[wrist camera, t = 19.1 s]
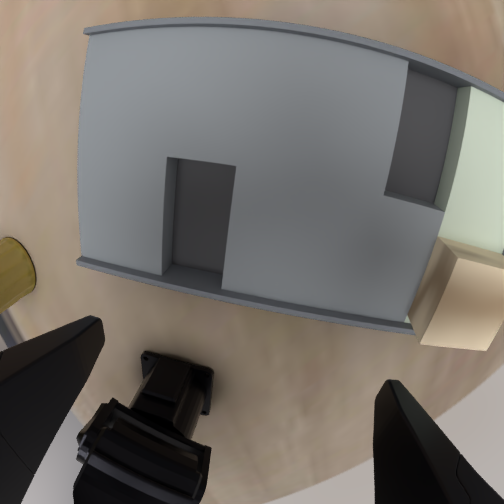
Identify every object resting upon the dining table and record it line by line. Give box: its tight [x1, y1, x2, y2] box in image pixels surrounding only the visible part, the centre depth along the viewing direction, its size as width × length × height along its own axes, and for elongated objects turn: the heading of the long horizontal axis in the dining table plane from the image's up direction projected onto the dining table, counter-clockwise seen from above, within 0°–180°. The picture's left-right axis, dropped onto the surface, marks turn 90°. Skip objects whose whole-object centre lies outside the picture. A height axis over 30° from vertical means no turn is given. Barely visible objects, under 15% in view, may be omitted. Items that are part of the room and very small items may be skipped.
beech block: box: [407, 236, 504, 351], centre depth 16 cm, size 6×6×3 cm
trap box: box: [76, 17, 504, 335], centre depth 17 cm, size 16×28×3 cm, turn 82°
